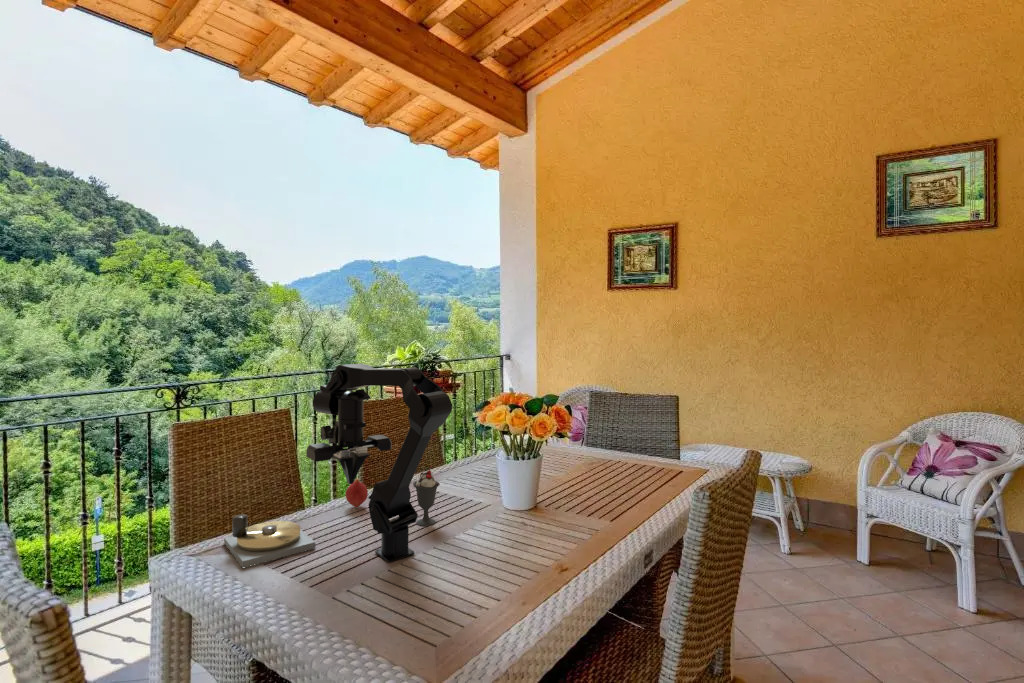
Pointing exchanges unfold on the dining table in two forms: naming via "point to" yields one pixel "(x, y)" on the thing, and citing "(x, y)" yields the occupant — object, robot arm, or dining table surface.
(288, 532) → the handwheel
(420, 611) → the dining table surface
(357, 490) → the onion
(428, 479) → the sundae
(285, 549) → the base plate
